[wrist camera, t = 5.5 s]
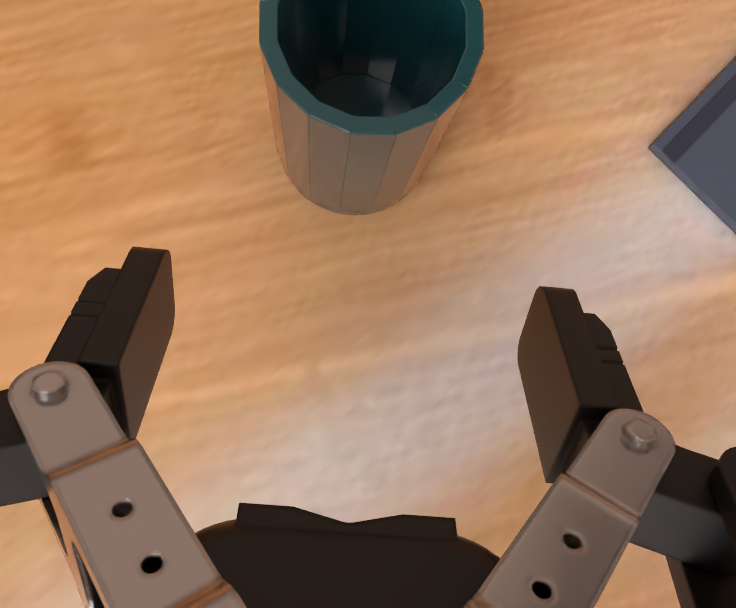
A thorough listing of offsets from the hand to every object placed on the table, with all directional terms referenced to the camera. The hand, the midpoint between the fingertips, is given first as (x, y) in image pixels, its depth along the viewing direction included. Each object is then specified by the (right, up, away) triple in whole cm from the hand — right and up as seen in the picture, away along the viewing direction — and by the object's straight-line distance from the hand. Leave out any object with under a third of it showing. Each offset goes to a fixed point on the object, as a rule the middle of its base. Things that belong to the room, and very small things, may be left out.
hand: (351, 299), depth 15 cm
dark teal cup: (0, +6, +12) cm, 14 cm away
